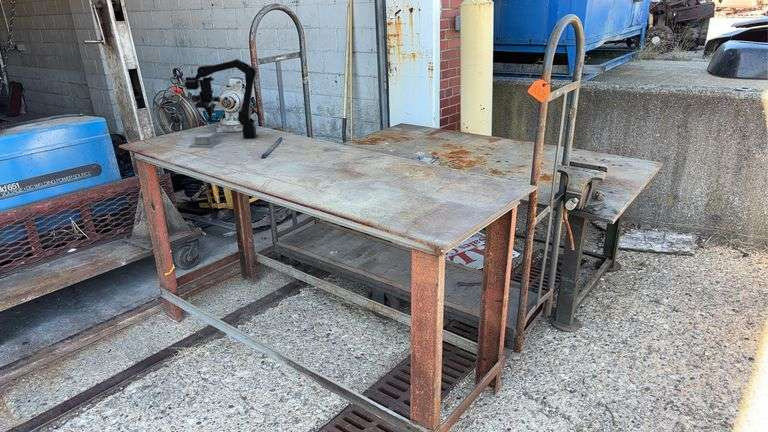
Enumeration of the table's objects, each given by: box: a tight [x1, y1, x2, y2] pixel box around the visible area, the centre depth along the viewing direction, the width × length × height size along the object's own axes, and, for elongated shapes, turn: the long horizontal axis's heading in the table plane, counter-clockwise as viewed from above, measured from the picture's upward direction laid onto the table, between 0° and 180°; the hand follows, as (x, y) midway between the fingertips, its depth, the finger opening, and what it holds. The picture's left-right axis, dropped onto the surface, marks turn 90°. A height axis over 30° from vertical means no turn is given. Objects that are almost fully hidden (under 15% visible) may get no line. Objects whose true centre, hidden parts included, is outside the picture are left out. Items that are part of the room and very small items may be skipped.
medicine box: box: [194, 132, 217, 145], centre depth 300 cm, size 8×4×9 cm
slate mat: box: [188, 140, 221, 149], centre depth 298 cm, size 13×12×1 cm
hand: (210, 117), depth 305 cm, fingers closed
